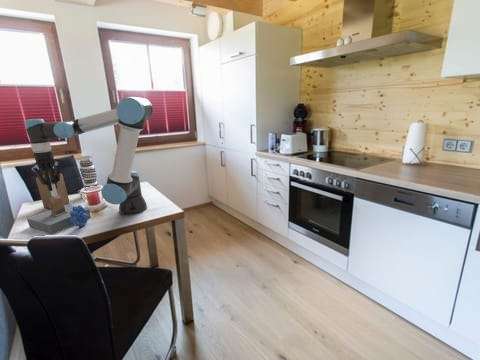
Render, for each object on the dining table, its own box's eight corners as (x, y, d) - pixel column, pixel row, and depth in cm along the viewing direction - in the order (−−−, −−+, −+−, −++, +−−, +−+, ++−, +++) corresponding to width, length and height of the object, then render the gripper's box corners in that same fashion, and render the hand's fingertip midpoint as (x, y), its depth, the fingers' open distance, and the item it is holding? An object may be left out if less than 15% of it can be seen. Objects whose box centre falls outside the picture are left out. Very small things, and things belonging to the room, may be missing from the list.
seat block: (90, 217, 140) (88, 209, 139) (52, 234, 123) (49, 225, 122) (68, 212, 149) (66, 204, 147) (29, 227, 131) (26, 218, 130)
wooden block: (70, 202, 164) (62, 172, 158) (58, 208, 154) (49, 177, 148) (56, 202, 165) (48, 173, 159) (43, 208, 155) (34, 177, 149)
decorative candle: (82, 195, 176) (74, 160, 169) (94, 191, 184) (86, 157, 177) (92, 196, 173) (83, 161, 165) (103, 192, 181) (96, 158, 174)
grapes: (82, 232, 124) (77, 209, 120) (69, 232, 124) (63, 210, 121) (96, 221, 135) (91, 200, 131) (84, 221, 135) (78, 200, 132)
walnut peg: (68, 221, 137) (62, 196, 133) (59, 224, 133) (52, 200, 129) (63, 219, 139) (56, 195, 135) (54, 223, 135) (47, 198, 131)
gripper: (52, 148, 132) (63, 191, 139) (23, 153, 121) (36, 199, 128) (60, 149, 129) (71, 192, 136) (31, 154, 118) (45, 201, 125)
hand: (54, 195), depth 132 cm, fingers closed
